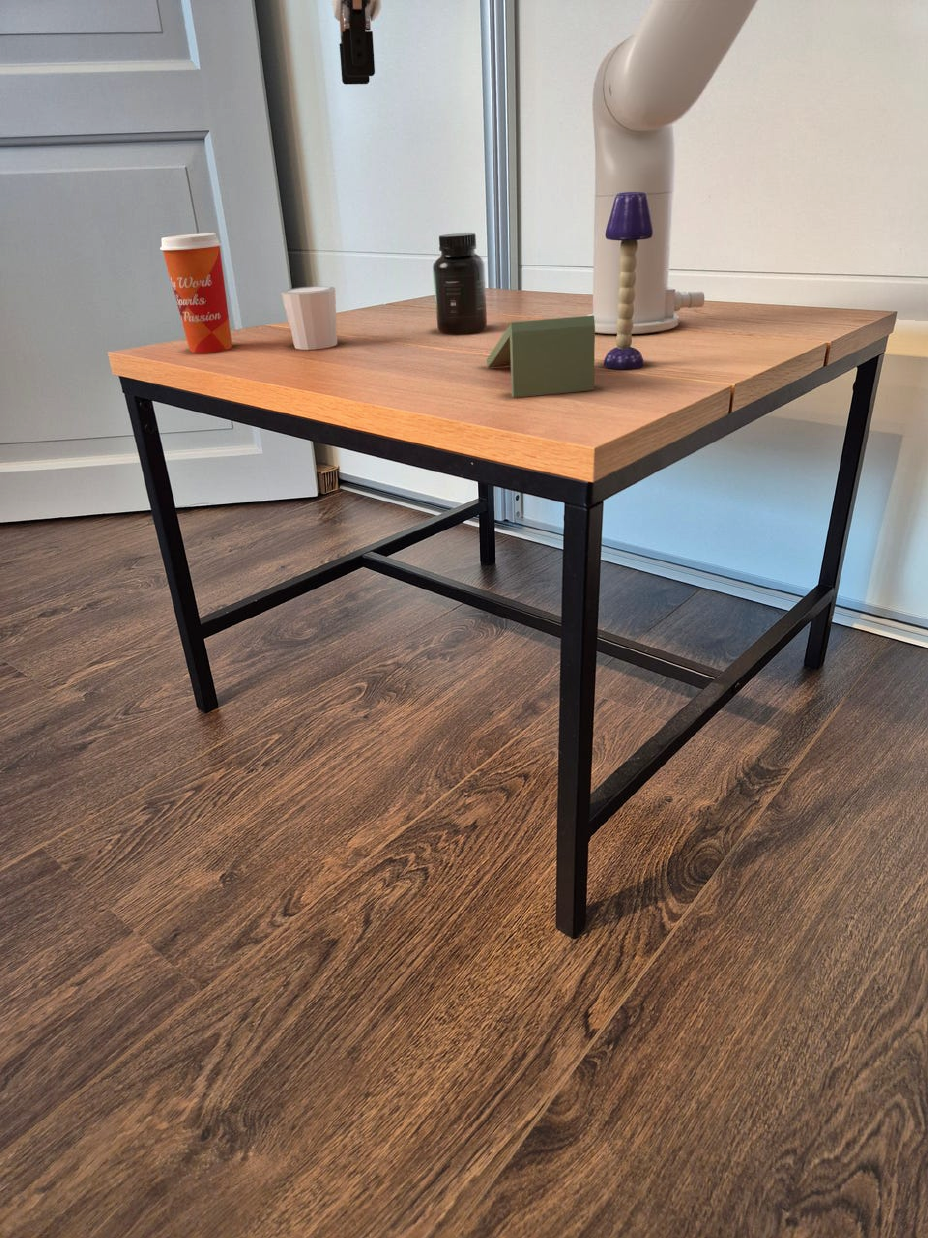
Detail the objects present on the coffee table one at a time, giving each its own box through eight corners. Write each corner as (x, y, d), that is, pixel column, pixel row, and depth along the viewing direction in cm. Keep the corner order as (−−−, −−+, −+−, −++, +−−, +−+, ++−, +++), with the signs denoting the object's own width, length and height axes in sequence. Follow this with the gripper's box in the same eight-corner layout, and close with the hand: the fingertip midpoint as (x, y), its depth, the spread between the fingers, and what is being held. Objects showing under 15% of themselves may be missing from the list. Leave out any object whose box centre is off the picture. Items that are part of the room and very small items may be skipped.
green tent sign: (487, 367, 93) (484, 301, 90) (557, 361, 94) (556, 296, 90) (513, 397, 80) (511, 323, 77) (593, 390, 81) (595, 315, 78)
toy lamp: (655, 365, 89) (664, 190, 81) (622, 373, 87) (629, 193, 79) (624, 359, 93) (630, 190, 85) (592, 366, 91) (595, 194, 82)
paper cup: (169, 354, 111) (144, 239, 104) (204, 342, 117) (182, 233, 110) (219, 355, 108) (196, 237, 101) (252, 343, 114) (232, 231, 108)
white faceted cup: (331, 350, 107) (324, 292, 104) (281, 351, 108) (272, 293, 105) (348, 339, 113) (342, 284, 109) (301, 340, 114) (293, 286, 111)
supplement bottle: (428, 333, 113) (421, 237, 108) (453, 324, 119) (447, 232, 113) (472, 335, 110) (467, 236, 105) (495, 326, 116) (492, 231, 110)
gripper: (387, -142, 80) (398, 72, 88) (375, -93, 95) (385, 86, 103) (307, -144, 79) (326, 72, 87) (308, -94, 94) (323, 87, 102)
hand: (358, 79), depth 95 cm, fingers open, 9 cm apart
